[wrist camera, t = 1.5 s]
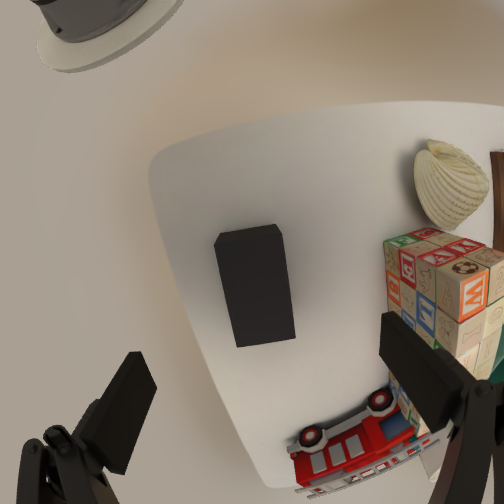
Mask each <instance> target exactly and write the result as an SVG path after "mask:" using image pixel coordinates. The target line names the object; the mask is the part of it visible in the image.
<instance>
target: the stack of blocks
mask: <svg viewBox="0 0 504 504" xmlns="http://www.w3.org/2000/svg"><path fill="white" fill-rule="evenodd" d="M383 244H384V252H385V260H386V278H387V290H388V307H389V312H390V311H395V312H396V313H397V314H398V315H399V316H400V317H401V318H402V319H403V320H404V321H405V322H406V323H407V324H408V325H409V326H410V327H411V328H412V329H413V330H414V331H415V332H416V333H417V334H418V335H419V336H420V337H421V338H422V339H423V340H424V341H425V342H426V343H427V344H428V345H429V346H430V347H431V348H432V349H433V350H434V349H437V348H439V347H440V348H443V349H445V350H447V351H449V352H450V353H451V354H452V355H453V356H454V357H455V358H456V359H457V360H458V361H459V363H461V364H462V365H463V366H464V367H465V368H466V369H467V370H468V371H469V372H470V373H471V374H472V375H473V376H474V377H475V378H476V379H477V380H480V379H485V380H486V379H488V378H489V377H490V374H491V370H492V367H493V364H494V360H495V356H496V352H497V349H498V344H499V340H500V336H501V331H502V325H503V321H504V253H502V252H500V251H497V250H494V249H491V248H488V247H486V245H485V244H482V243H479V242H476V241H473V240H471V239H467V238H462V237H459V236H455V235H452V234H449V233H445V232H443V231H440V230H436V229H433V228H430V227H428V228H425V229H421V230H418V231H415V232H412V233H409V234H408V235H403V236H400V237H397V238H393V239H390V240H386V241H384V243H383ZM389 391H390V393H391V392H392V391H394V394H395V396H396V399H397V403H398V405H399V407H400V408H401V412H402V414H403V415H404V417H405V419H406V420H408V422H409V423H410V425H412V424H413V426H414V428H415V430H414V434H415V435H416V437H419V436H421V435H423V434H425V433H427V432H429V431H430V430H429V429H428V427H427V426H426V424H425V422H424V421H423V419H422V418H421V416H420V415H419V413H418V412H417V410H416V408H415V407H414V405H413V404H412V402H411V401H410V399H409V398H408V396H407V395H406V393H405V392H404V390H403V389H402V387H401V386H400V384H399V383H398V381H397V380H396V378H395V377H394V376H393V374H392V373H391V371H390V381H389Z"/></svg>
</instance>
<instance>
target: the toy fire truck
mask: <svg viewBox="0 0 504 504" xmlns="http://www.w3.org/2000/svg"><path fill="white" fill-rule="evenodd" d="M414 430H415V428H414V426H413V424H412V425H410V423H409V422H408V420H406V419H405V417H404V415H403V414H402V412H401V408H400V407H399V405H398V403H397V399H396V396H395V394H394V391H392V392H391V393H390V391H389V390H387V389H380V390H377V391H375V392H373V394H372V395H371V396H370V397H369V399H368V406H367V409H366V410H365V411H363V412H361V413H359V414H357V415H355V416H354V417H352V418H350V419H348V420H346V421H344V422H342V423H340V424H338V425H336V426H334V427H332V428H330V429H328V430H326V431H325V430H324V429H321V428H320V427H317V426H315V425H312V426H309V427H306V428H305V429H304V430H303V431H302V432H301V433H300V436H299V440H296V441H297V443H295V444H293V445H290V446H288V447H287V452H288V453H289V454H290V457H291V459H292V460H293V461H294V468H295V474H296V481H297V483H298V484H299V485H301V486H303V488H300V489H296V490H295V492H296V493H302V492H305V491H310V492H312V493H314V494H313V495H309V496H307V498H308V499H313V498H316V497H320V496H323V495H326V494H330V493H333V492H336V491H339V490H342V489H345V488H348V487H350V486H353V485H356V484H358V483H361V482H363V481H366V480H368V479H371V478H373V477H375V476H378V475H380V474H382V473H385V472H387V471H389V470H391V469H393V468H395V467H397V466H399V465H401V464H403V463H405V462H407V461H409V460H411V459H412V458H414V457H416V456H418V455H420V454H422V453H423V452H425V451H427V450H428V449H430V448H432V447H433V446H435V445H437V444H438V443H440V439H439V438H438V439H437V440H435V441H434V442H432V443H430V444H429V445H427V446H425V447H424V448H423V445H425V444H426V443H428V442H429V441H430V439H429V438H430V437H432V436H433V435H435V434H437V433H438V432H439V431H438V432H436V433H434V434H431V432H429V433H428V432H427V433H425V434H423V435H421V436H419V437H416V435H415V434H414ZM418 448H420V450H418V451H417V452H415V453H413V454H411V455H409V454H410V453H412V452H414V451H415V450H417V449H418ZM397 461H398V462H397ZM395 462H396V463H395ZM382 464H384V465H385V466H386V468H383V469H381V470H378V469H377V468H376V467H378V466H380V465H382ZM389 465H390V466H389ZM387 466H388V467H387ZM370 470H373V471H374V473H372V474H370V475H368V476H365V477H363V476H362V475H361V474H363V473H365V472H367V471H370ZM354 477H358V478H360V479H358V480H355V481H352V480H353V478H354ZM321 490H323V492H318V491H321Z"/></svg>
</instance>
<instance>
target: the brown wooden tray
mask: <svg viewBox="0 0 504 504" xmlns="http://www.w3.org/2000/svg"><path fill="white" fill-rule="evenodd" d="M490 155H491V163H492V173H493V187H494V243H493V249H494V250H497V251H500V252H502V253H504V152H490Z"/></svg>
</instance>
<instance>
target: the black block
mask: <svg viewBox="0 0 504 504" xmlns="http://www.w3.org/2000/svg"><path fill="white" fill-rule="evenodd" d="M214 248H215V253H216V257H217V262H218V267H219V271H220V276H221V281H222V285H223V290H224V294H225V299H226V303H227V307H228V312H229V316H230V320H231V325H232V329H233V333H234V337H235V341H236V345H237V348H238V347H245V346H252V345H259V344H265V343H272V342H278V341H283V340H289V339H294V338H296V336H295V328H294V319H293V311H292V303H291V295H290V288H289V280H288V273H287V265H286V258H285V251H284V244H283V238H282V233H281V232H280V230H279V228H278V227H277V225H276V224H272V225H266V226H260V227H254V228H248V229H243V230H237V231H231V232H225V233H220V235H219V236H218V238H217V240H216V242H215V244H214Z"/></svg>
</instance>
